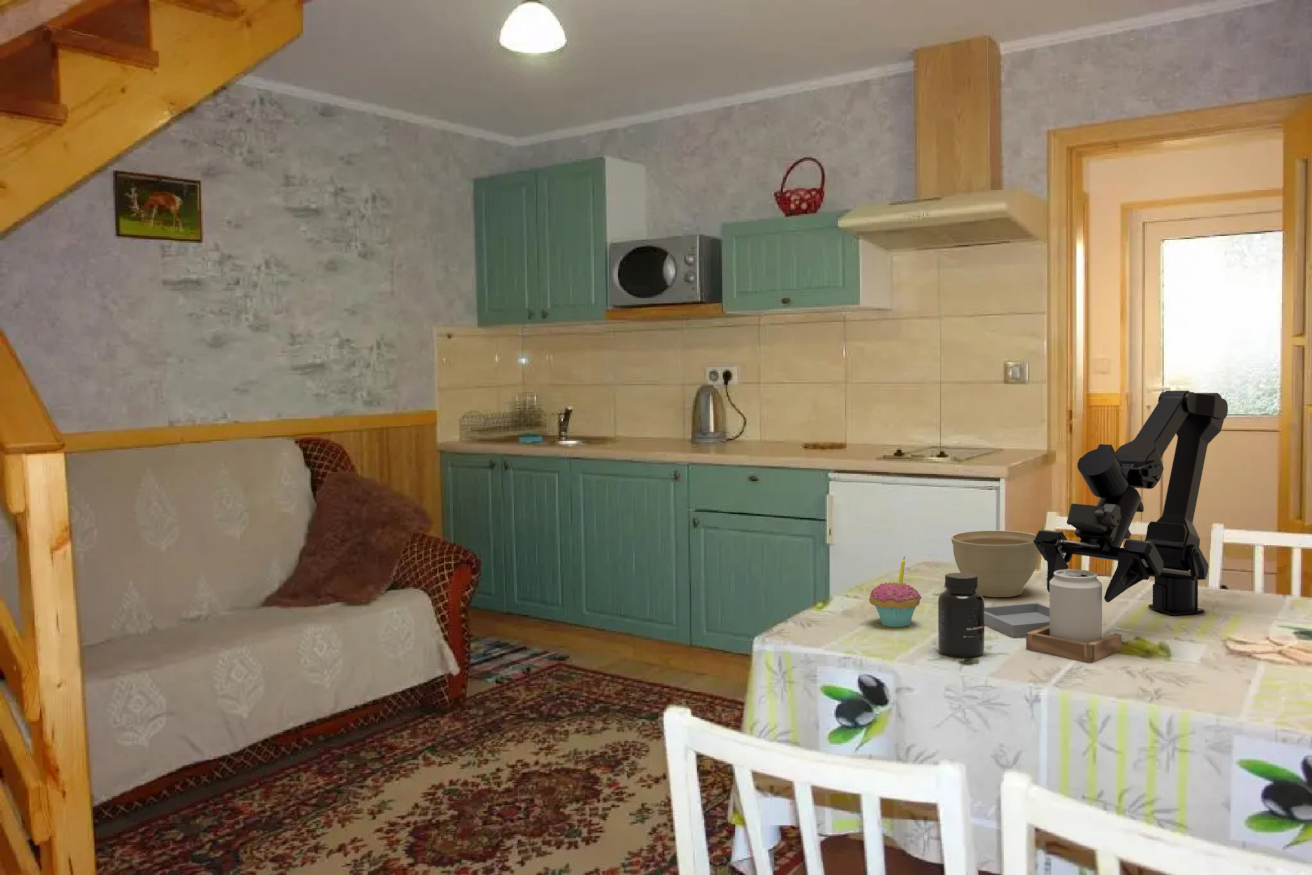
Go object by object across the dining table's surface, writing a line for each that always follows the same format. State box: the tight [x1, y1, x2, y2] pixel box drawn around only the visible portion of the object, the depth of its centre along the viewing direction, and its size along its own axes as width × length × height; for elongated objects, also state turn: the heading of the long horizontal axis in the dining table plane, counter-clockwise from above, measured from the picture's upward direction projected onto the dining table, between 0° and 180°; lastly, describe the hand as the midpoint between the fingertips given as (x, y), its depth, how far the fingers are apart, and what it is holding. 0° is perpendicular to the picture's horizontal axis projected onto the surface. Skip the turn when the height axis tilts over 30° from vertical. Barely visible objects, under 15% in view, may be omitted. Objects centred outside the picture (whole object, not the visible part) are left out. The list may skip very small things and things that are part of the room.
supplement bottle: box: [937, 572, 985, 658], centre depth 157 cm, size 7×7×12 cm
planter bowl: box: [950, 529, 1040, 598], centre depth 196 cm, size 16×16×11 cm
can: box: [1049, 568, 1103, 643], centre depth 157 cm, size 8×8×12 cm
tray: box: [984, 601, 1050, 638], centre depth 172 cm, size 13×13×2 cm
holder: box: [1025, 625, 1123, 664], centre depth 157 cm, size 9×10×2 cm
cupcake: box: [868, 555, 922, 628], centre depth 175 cm, size 9×8×12 cm
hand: (1077, 595), depth 157 cm, fingers open, 9 cm apart
